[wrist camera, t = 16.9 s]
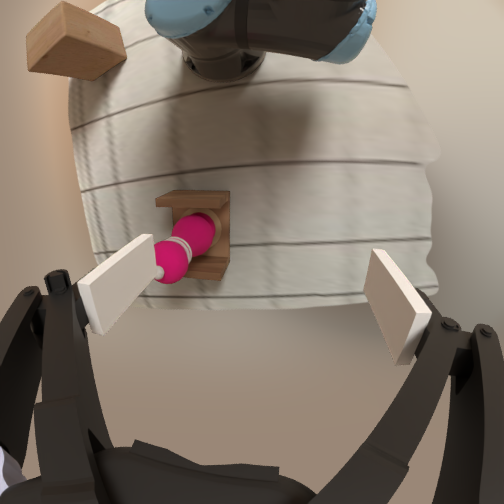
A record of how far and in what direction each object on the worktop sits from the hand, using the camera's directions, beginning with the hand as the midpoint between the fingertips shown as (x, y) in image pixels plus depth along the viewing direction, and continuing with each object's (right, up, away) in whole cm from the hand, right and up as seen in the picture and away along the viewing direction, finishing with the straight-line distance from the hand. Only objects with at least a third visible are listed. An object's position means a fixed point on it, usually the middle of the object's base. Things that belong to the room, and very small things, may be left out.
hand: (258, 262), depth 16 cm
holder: (-10, +6, +37) cm, 38 cm away
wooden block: (-32, +43, +24) cm, 59 cm away
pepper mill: (-10, +5, +36) cm, 37 cm away
